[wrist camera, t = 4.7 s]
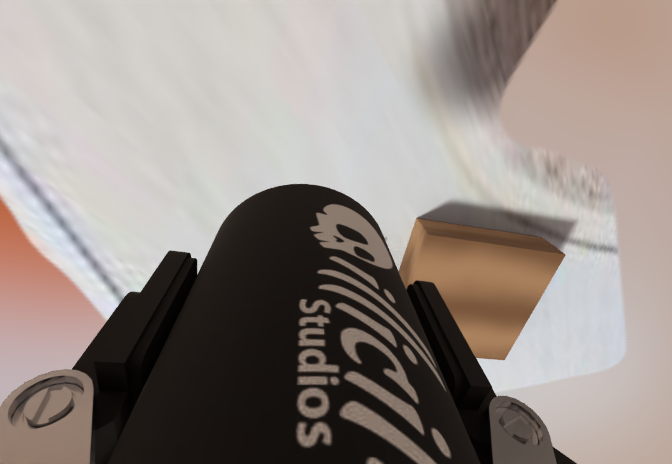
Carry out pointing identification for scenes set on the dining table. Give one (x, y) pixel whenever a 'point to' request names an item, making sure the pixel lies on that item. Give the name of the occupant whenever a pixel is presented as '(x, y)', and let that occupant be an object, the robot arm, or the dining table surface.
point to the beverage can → (296, 350)
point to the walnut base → (482, 278)
